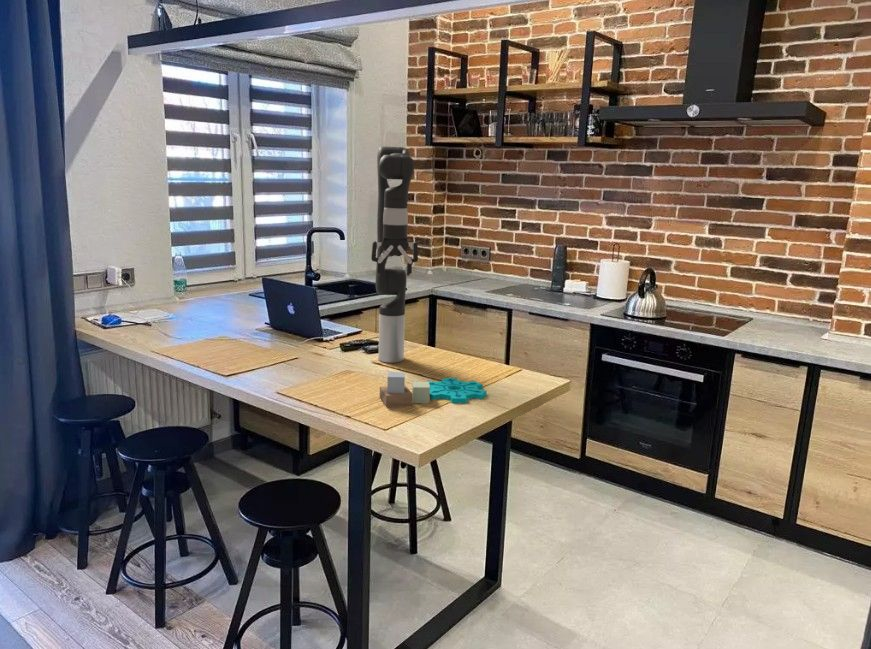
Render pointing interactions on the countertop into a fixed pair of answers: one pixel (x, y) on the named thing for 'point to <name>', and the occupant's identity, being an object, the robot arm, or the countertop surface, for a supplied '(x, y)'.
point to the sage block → (420, 392)
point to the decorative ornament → (456, 390)
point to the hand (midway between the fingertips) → (394, 275)
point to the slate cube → (395, 382)
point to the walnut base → (396, 398)
